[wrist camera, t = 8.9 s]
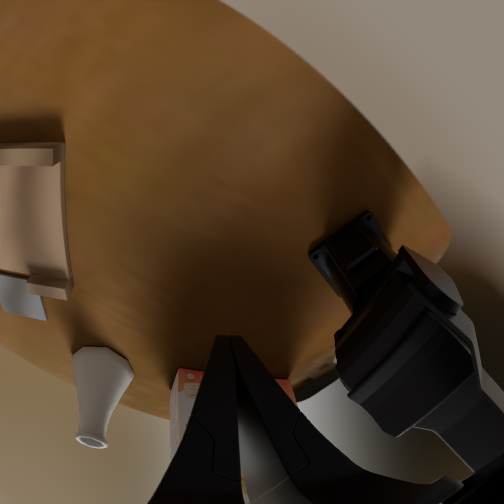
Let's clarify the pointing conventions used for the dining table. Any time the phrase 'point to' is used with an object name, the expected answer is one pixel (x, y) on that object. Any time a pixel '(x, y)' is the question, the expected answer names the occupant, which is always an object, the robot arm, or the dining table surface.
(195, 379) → the cracker box
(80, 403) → the flask
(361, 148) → the dining table surface
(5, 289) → the tan shallow tray
